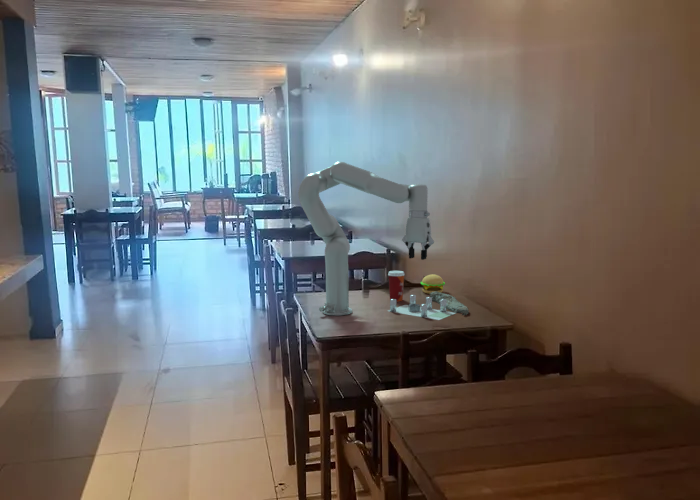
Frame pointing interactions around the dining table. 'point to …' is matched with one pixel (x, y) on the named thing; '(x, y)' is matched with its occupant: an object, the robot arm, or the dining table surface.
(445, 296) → the elongated rock
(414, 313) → the board
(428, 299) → the spacers
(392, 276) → the paper cup
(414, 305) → the grey faceted hexagonal block
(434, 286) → the hamburger
